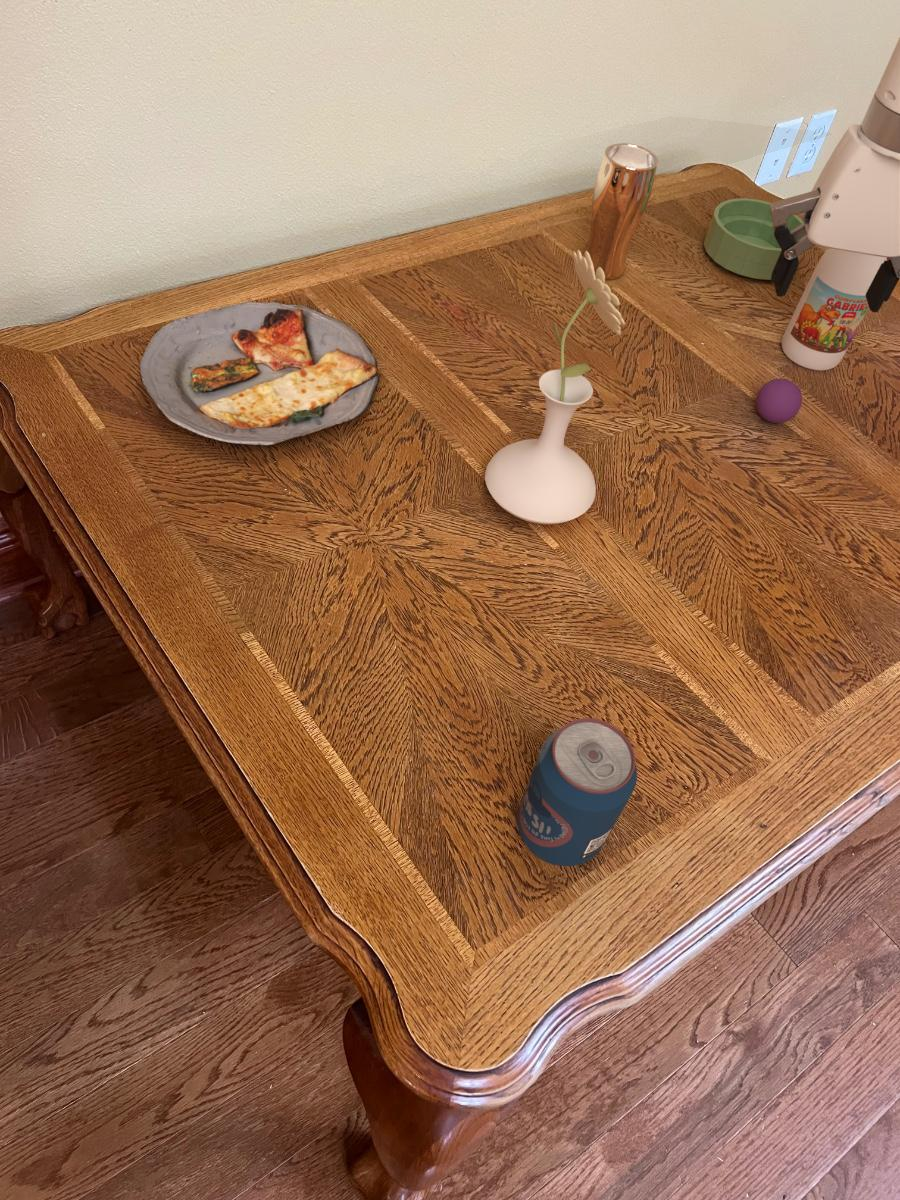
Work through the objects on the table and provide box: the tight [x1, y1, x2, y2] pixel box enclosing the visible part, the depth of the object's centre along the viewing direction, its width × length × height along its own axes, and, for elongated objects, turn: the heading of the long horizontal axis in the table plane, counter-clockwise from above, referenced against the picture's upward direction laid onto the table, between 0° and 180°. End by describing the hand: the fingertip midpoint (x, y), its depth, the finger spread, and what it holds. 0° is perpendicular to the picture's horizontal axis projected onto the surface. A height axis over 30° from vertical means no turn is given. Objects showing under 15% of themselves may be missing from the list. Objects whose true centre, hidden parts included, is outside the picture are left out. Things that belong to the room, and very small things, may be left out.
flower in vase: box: [484, 249, 626, 525], centre depth 87 cm, size 13×11×25 cm
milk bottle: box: [781, 248, 888, 371], centre depth 111 cm, size 8×8×20 cm
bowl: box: [703, 197, 804, 281], centre depth 130 cm, size 13×13×5 cm
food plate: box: [139, 301, 381, 446], centre depth 101 cm, size 25×23×4 cm
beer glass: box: [582, 142, 659, 281], centre depth 120 cm, size 7×7×15 cm
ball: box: [755, 377, 803, 424], centre depth 107 cm, size 5×5×5 cm
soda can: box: [516, 717, 638, 867], centre depth 68 cm, size 7×7×12 cm
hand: (824, 296), depth 96 cm, fingers open, 9 cm apart
